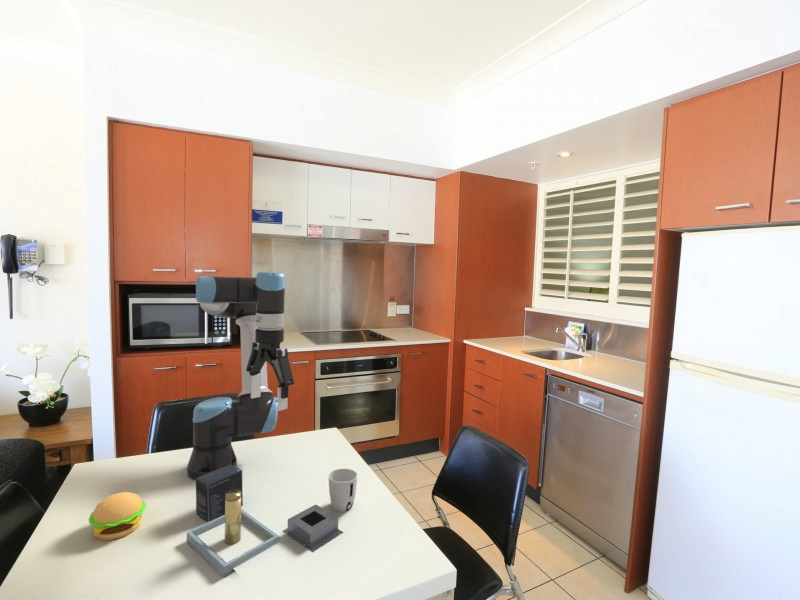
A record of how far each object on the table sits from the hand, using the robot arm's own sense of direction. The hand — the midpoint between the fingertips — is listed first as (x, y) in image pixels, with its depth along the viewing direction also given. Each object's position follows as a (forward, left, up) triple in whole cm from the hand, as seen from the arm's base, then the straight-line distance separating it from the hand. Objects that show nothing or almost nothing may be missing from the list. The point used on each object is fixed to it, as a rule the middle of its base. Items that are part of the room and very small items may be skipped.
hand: (268, 403), depth 114 cm
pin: (+8, -15, -29) cm, 33 cm away
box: (-8, -10, -30) cm, 33 cm away
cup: (+17, +13, -30) cm, 37 cm away
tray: (+8, -15, -30) cm, 34 cm away
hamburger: (-19, -31, -30) cm, 47 cm away
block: (+20, 0, -30) cm, 36 cm away
